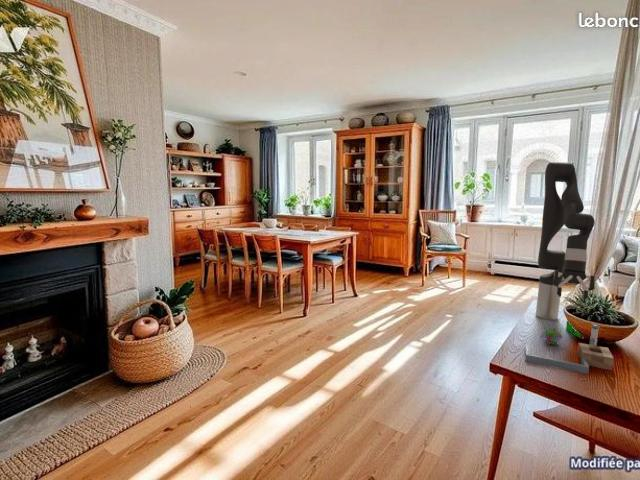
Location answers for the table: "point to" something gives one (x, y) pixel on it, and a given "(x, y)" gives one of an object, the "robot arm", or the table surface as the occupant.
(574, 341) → the table surface
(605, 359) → the slotted tan block
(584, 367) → the open frame
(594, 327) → the cylinder
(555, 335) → the geometric puzzle
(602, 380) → the table surface
